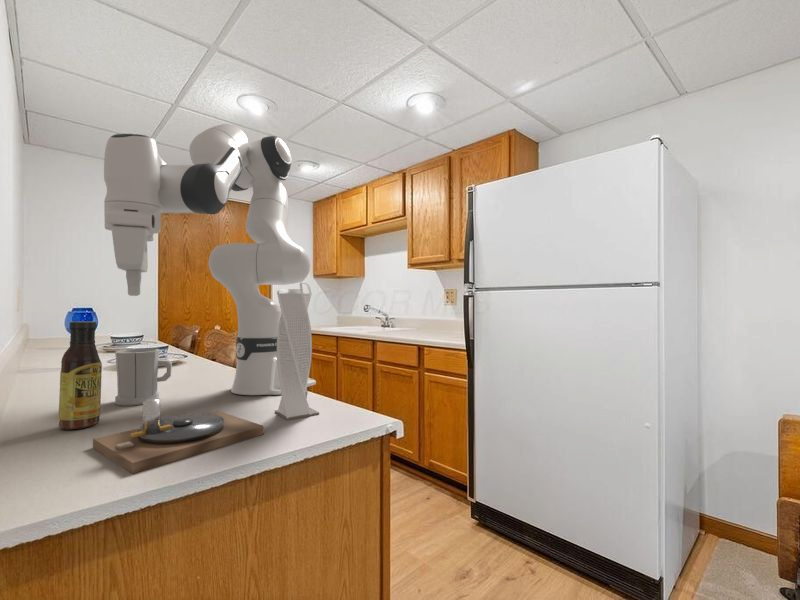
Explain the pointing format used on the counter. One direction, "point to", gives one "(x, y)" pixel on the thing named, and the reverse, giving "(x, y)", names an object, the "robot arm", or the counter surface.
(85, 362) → the sauce bottle
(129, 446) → the stand
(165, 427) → the dial
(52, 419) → the counter surface
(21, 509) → the counter surface
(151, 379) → the cup
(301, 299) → the skyscraper
